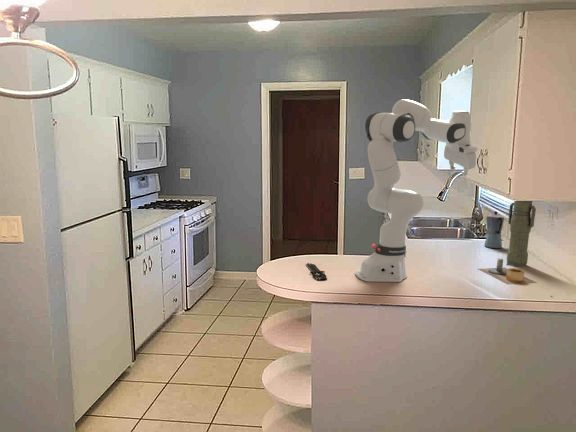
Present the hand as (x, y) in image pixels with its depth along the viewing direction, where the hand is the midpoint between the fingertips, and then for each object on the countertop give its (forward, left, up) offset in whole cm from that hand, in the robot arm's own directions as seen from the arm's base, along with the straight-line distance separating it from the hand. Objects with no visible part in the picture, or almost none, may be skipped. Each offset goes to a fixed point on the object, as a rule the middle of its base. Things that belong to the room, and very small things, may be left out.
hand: (458, 172), depth 232 cm
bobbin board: (+9, -31, -44) cm, 54 cm away
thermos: (+26, -15, -44) cm, 53 cm away
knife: (-72, -8, -45) cm, 85 cm away
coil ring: (+9, -37, -43) cm, 57 cm away
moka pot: (+38, +21, -44) cm, 62 cm away
